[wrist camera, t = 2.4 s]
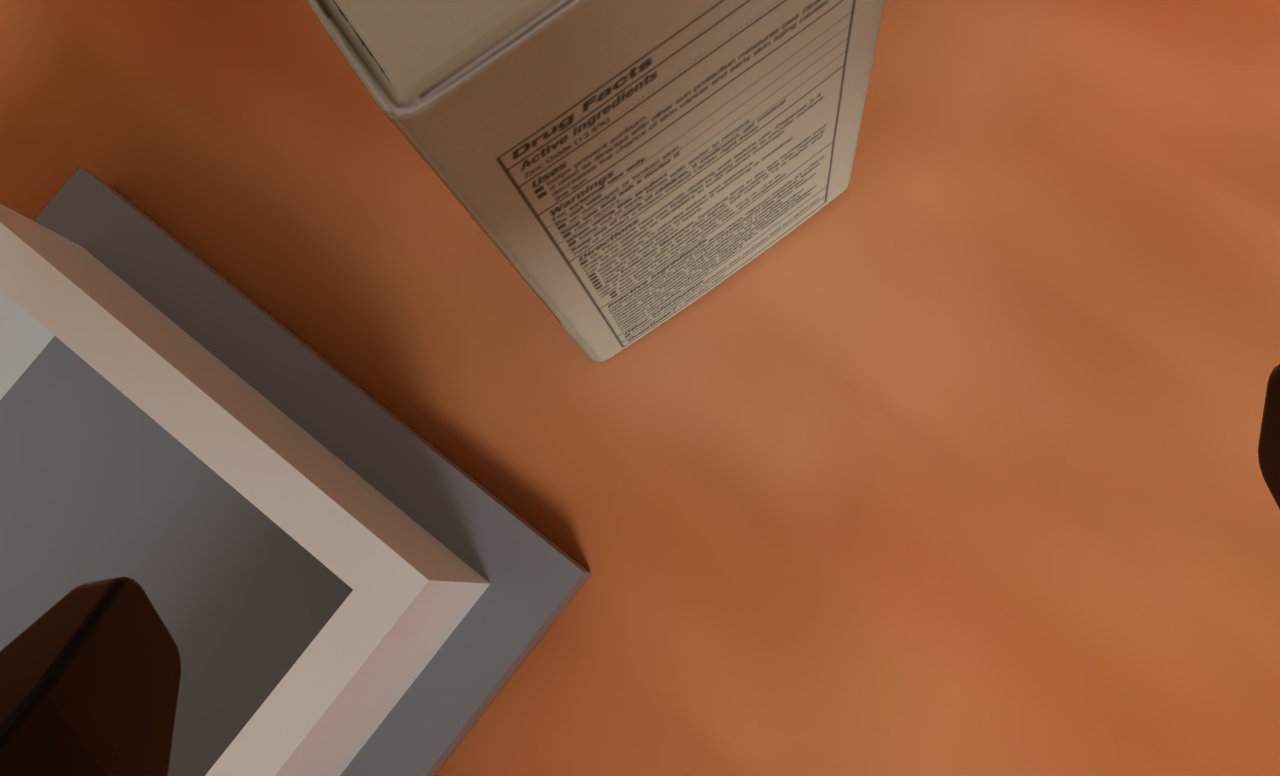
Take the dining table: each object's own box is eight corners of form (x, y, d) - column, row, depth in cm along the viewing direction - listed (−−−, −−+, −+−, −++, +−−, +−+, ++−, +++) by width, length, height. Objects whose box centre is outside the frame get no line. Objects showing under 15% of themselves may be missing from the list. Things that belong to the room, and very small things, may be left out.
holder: (137, 1158, 20) (-60, 1338, 15) (-322, 687, 23) (-620, 711, 18) (591, 573, 21) (543, 565, 16) (107, 184, 24) (-60, 75, 19)
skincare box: (726, 29, 23) (702, -589, 11) (855, 193, 22) (981, -285, 10) (465, 209, 23) (152, -221, 11) (585, 381, 22) (388, 122, 10)
